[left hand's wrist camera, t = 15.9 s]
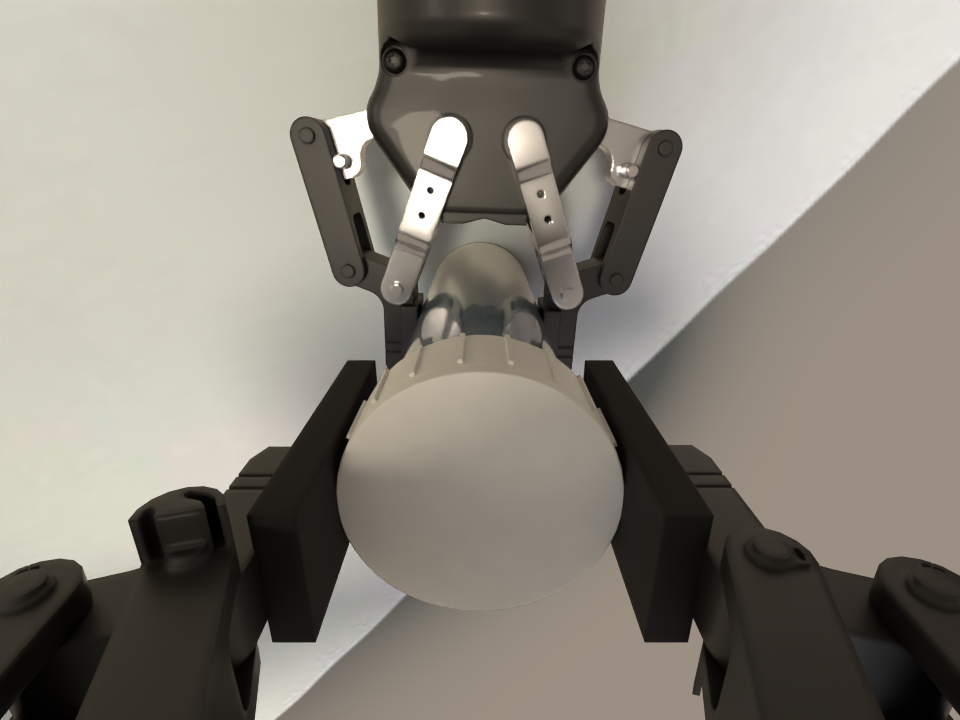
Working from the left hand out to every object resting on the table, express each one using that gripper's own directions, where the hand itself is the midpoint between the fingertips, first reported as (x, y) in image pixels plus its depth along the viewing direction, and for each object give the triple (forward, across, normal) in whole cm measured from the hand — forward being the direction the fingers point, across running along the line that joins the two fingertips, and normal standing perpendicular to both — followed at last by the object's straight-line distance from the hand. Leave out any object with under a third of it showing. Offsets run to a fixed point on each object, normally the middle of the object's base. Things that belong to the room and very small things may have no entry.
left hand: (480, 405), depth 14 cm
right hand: (+7, 0, -3) cm, 8 cm away
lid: (-4, 0, 0) cm, 4 cm away
